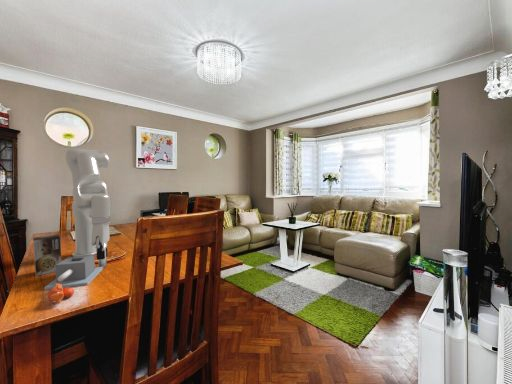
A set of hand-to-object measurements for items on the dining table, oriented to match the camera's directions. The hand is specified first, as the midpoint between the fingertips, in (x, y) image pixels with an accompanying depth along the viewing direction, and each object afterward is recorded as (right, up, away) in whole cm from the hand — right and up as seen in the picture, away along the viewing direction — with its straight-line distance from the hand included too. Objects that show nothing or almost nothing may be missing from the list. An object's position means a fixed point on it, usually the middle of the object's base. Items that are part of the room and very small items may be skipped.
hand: (102, 257), depth 111 cm
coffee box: (-21, -5, -5) cm, 22 cm away
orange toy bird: (+6, -6, -31) cm, 32 cm away
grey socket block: (-1, -5, -15) cm, 16 cm away
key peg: (0, -4, 0) cm, 4 cm away
